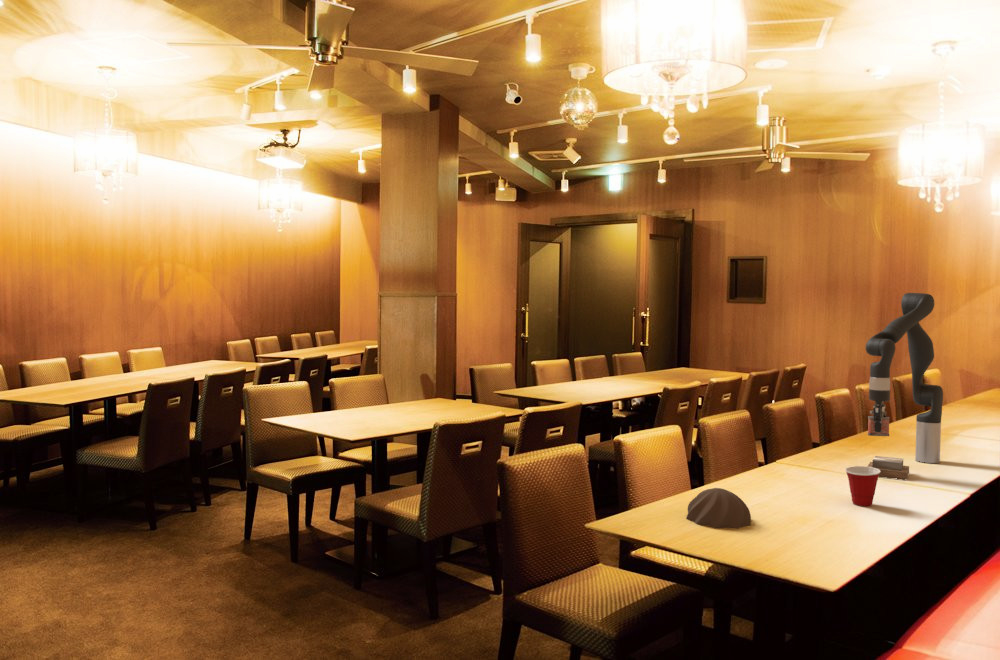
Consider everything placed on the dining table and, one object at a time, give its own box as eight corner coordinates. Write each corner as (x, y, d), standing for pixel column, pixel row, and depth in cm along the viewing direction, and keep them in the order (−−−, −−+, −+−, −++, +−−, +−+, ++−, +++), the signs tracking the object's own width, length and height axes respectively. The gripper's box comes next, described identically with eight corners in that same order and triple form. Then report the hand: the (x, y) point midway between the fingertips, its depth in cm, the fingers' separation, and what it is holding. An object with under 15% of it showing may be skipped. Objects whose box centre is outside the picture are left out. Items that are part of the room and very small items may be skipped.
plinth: (870, 469, 304) (870, 454, 304) (909, 473, 297) (909, 458, 297) (866, 475, 293) (866, 460, 292) (906, 480, 285) (906, 464, 285)
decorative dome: (705, 531, 218) (706, 497, 218) (675, 513, 237) (675, 481, 237) (764, 527, 222) (765, 494, 222) (729, 509, 242) (730, 479, 241)
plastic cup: (836, 501, 252) (837, 466, 252) (860, 499, 256) (861, 464, 256) (862, 510, 242) (863, 473, 242) (887, 507, 246) (888, 471, 246)
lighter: (887, 435, 298) (887, 410, 298) (890, 436, 295) (891, 411, 295) (866, 434, 299) (866, 409, 299) (869, 435, 296) (869, 410, 296)
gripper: (887, 390, 288) (886, 434, 289) (892, 387, 300) (891, 429, 301) (866, 389, 293) (865, 432, 293) (871, 386, 304) (870, 427, 305)
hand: (878, 430), depth 297 cm, fingers closed on lighter, 4 cm apart
